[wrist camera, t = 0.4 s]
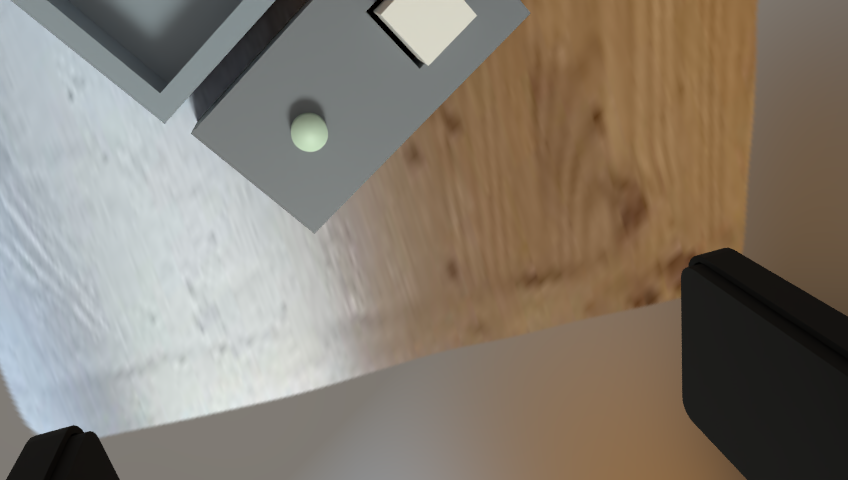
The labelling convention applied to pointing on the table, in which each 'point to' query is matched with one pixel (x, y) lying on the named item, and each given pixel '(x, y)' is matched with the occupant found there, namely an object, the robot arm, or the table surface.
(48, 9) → the frame
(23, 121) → the table surface
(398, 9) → the breaker button
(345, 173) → the breaker panel
